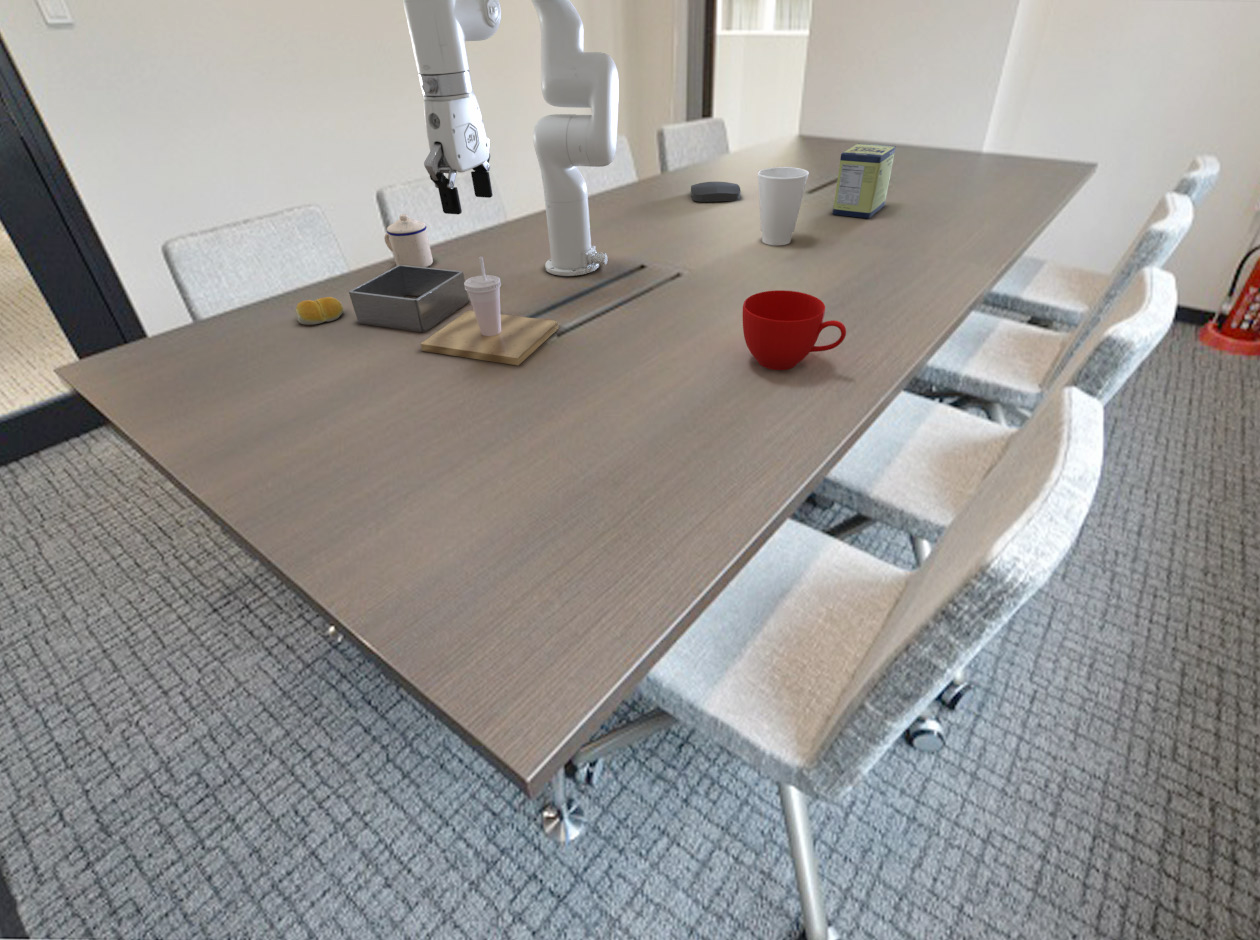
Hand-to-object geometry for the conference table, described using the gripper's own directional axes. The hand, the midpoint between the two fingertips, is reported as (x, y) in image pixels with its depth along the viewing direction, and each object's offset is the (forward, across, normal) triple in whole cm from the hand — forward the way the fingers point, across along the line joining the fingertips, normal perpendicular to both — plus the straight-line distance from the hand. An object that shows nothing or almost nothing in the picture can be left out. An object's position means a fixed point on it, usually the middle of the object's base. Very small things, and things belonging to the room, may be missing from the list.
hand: (469, 204), depth 106 cm
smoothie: (+22, -2, -1) cm, 22 cm away
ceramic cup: (+24, +4, -55) cm, 60 cm away
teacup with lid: (+25, +31, +41) cm, 57 cm away
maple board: (+24, -2, -1) cm, 24 cm away
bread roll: (+24, -2, +39) cm, 46 cm away
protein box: (+26, +102, -58) cm, 120 cm away
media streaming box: (+26, +108, -15) cm, 112 cm away
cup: (+25, +69, -41) cm, 84 cm away
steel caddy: (+24, +6, +22) cm, 33 cm away
